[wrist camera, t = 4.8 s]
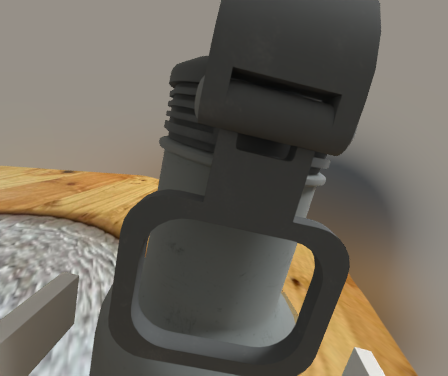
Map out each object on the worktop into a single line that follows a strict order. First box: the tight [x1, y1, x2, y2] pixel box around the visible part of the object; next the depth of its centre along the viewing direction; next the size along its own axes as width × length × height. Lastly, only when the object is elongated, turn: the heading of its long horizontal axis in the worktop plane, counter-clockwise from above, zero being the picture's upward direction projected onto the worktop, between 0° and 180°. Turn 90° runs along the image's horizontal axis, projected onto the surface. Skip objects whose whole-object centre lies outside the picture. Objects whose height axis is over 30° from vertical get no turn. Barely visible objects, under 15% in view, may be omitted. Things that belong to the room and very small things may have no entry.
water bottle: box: [89, 0, 381, 376], centre depth 12 cm, size 10×10×28 cm
